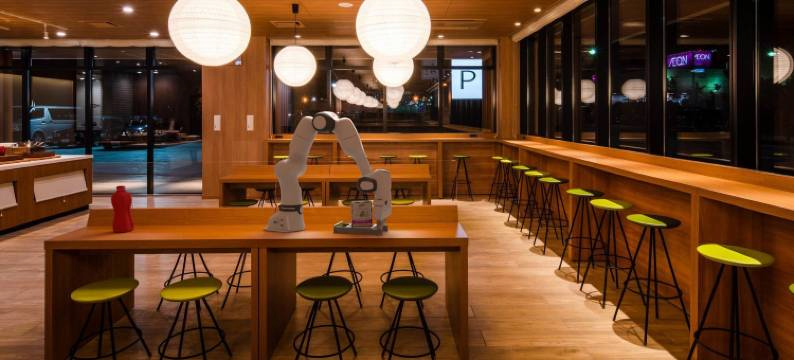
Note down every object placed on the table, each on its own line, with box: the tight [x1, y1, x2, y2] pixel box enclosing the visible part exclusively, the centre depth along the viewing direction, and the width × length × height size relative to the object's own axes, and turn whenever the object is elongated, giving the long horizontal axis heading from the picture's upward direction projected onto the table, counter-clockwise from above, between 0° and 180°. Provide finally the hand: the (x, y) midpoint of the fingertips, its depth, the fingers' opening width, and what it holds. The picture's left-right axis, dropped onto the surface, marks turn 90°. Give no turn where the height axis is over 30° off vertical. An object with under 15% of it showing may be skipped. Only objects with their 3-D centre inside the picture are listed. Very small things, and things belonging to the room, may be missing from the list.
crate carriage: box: [346, 220, 382, 229], centre depth 283 cm, size 18×9×7 cm, turn 74°
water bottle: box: [110, 185, 135, 233], centre depth 286 cm, size 9×11×25 cm
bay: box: [333, 220, 389, 236], centre depth 284 cm, size 27×12×4 cm, turn 74°
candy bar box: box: [350, 200, 373, 228], centre depth 283 cm, size 11×5×16 cm, turn 101°
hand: (383, 225), depth 280 cm, fingers closed
